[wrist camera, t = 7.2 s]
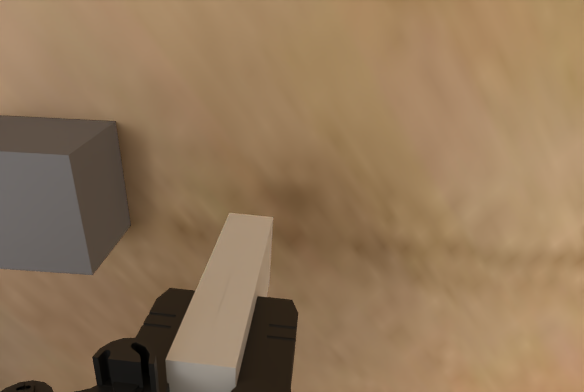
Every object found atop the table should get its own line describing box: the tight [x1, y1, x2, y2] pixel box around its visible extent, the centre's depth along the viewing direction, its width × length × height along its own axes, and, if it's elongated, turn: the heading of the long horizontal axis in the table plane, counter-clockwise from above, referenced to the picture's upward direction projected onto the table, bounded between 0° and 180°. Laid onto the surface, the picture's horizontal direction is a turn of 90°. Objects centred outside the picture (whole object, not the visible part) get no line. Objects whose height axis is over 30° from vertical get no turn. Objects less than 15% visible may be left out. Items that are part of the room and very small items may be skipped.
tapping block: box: [0, 115, 131, 275], centre depth 19 cm, size 5×5×4 cm
